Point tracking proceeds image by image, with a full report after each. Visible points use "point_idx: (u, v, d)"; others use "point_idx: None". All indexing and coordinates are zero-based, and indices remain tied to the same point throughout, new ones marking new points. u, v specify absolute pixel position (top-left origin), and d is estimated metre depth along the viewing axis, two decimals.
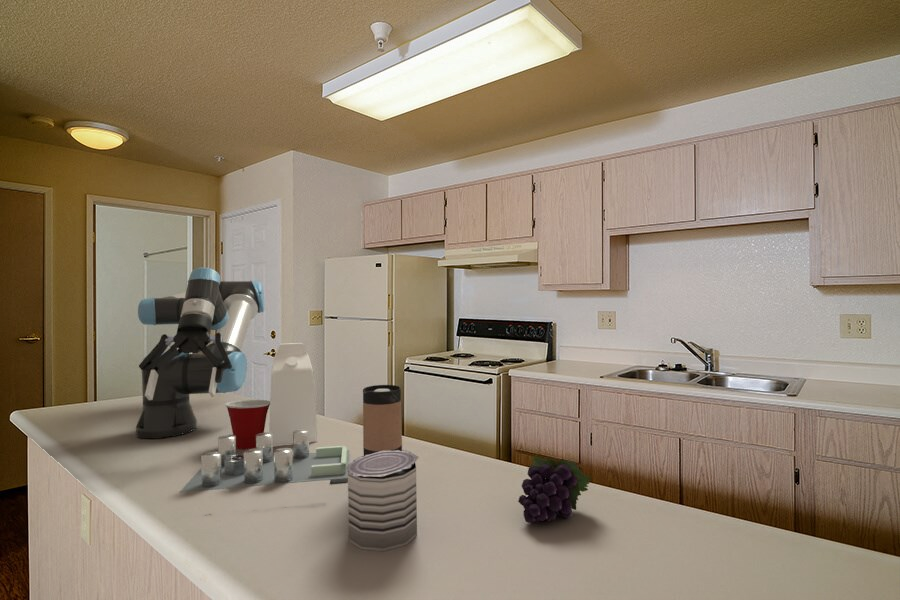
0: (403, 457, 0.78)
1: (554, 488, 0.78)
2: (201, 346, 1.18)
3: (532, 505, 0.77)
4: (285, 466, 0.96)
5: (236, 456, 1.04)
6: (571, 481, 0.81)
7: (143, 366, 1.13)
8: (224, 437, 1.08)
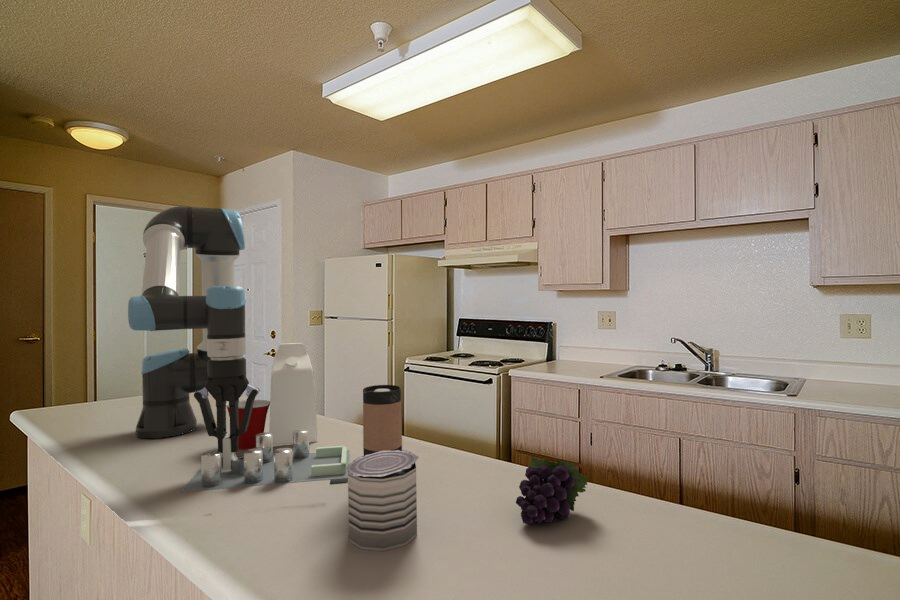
0: (403, 457, 0.78)
1: (552, 489, 0.78)
2: (230, 403, 1.01)
3: (529, 506, 0.77)
4: (285, 466, 0.96)
5: (242, 455, 1.04)
6: (569, 482, 0.81)
7: (213, 432, 1.01)
8: None
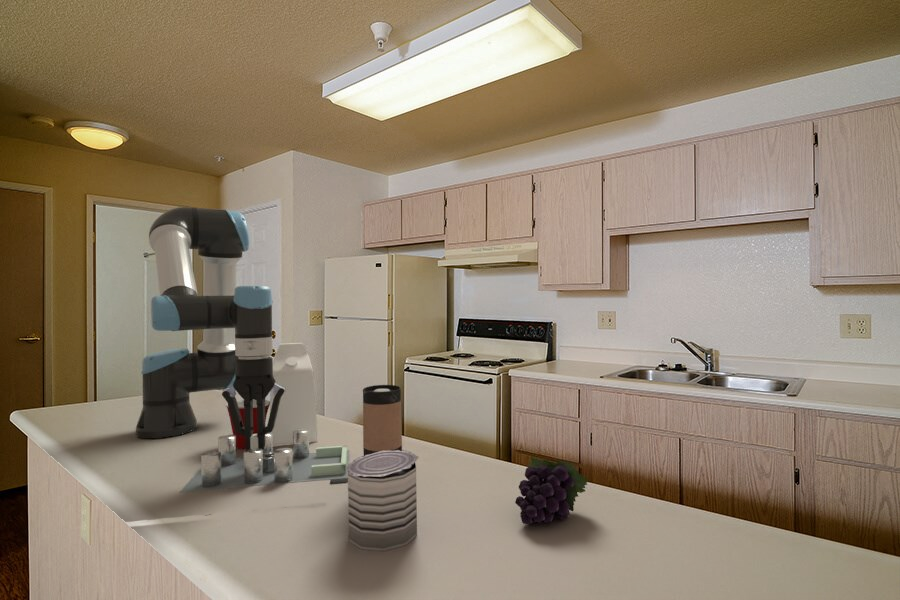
0: (403, 457, 0.78)
1: (551, 489, 0.78)
2: (258, 402, 1.02)
3: (529, 506, 0.77)
4: (285, 466, 0.96)
5: (269, 454, 1.05)
6: (568, 482, 0.81)
7: (241, 431, 1.02)
8: (224, 437, 1.08)
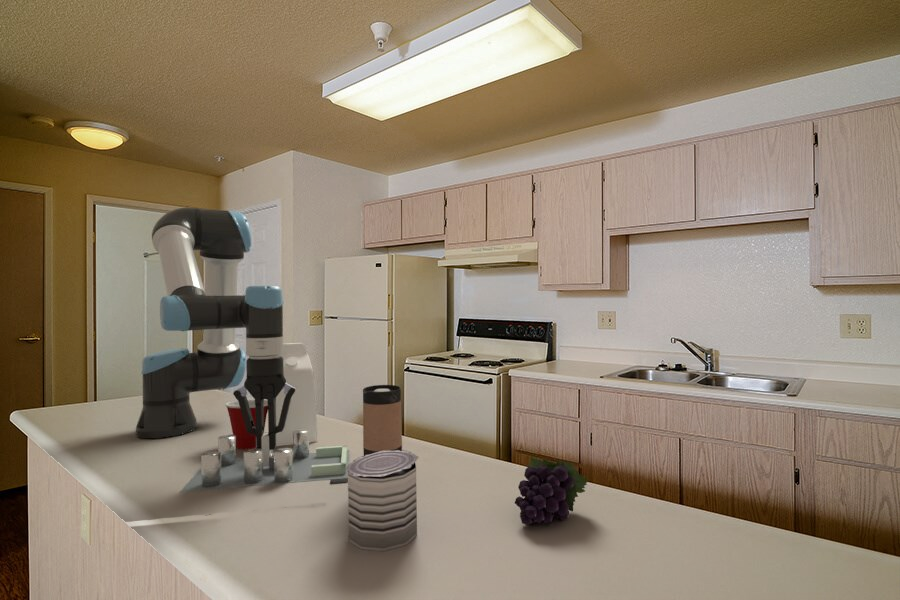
0: (403, 457, 0.78)
1: (551, 490, 0.78)
2: (269, 401, 1.02)
3: (529, 507, 0.77)
4: (285, 466, 0.96)
5: None
6: (568, 482, 0.81)
7: (252, 430, 1.02)
8: (224, 437, 1.08)
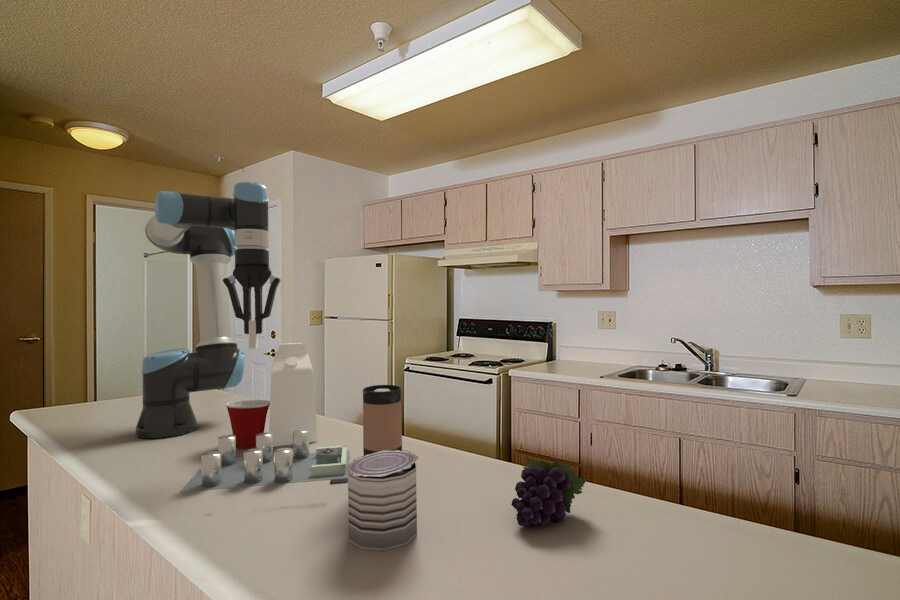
0: (403, 457, 0.78)
1: (547, 491, 0.77)
2: (255, 288, 1.12)
3: (525, 508, 0.76)
4: (285, 466, 0.96)
5: (325, 450, 1.07)
6: (565, 484, 0.80)
7: (240, 315, 1.12)
8: (224, 437, 1.08)
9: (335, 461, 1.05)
